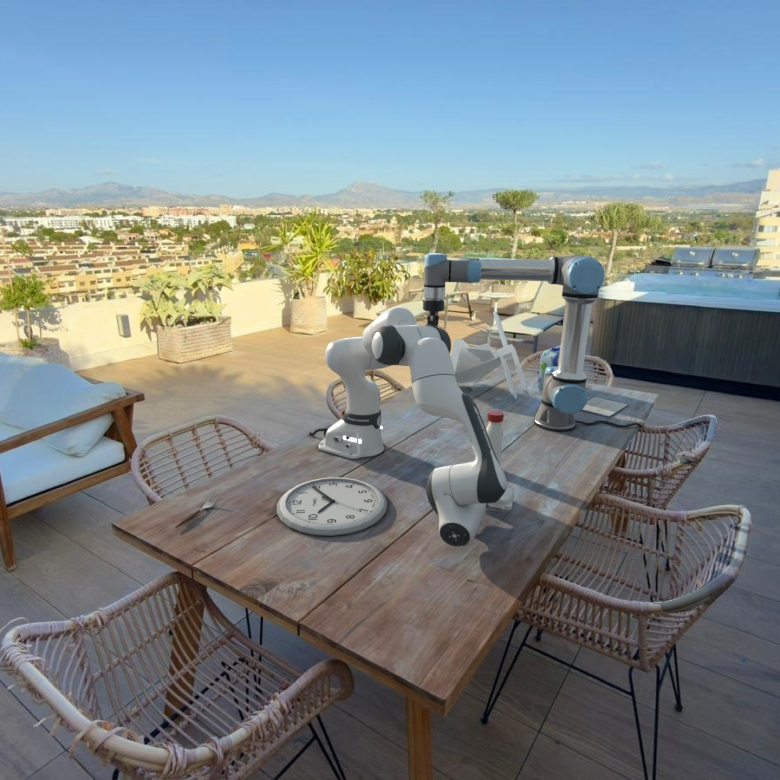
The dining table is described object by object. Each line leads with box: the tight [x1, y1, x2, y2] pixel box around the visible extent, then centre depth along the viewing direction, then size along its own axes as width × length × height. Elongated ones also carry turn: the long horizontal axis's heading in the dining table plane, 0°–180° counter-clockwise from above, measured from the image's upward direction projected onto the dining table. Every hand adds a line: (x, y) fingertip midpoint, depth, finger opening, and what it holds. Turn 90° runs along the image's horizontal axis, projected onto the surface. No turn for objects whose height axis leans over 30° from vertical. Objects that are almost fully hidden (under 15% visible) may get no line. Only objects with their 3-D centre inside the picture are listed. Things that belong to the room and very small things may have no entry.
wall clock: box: [276, 476, 388, 537], centre depth 142 cm, size 30×2×30 cm
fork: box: [174, 492, 220, 529], centre depth 137 cm, size 3×16×2 cm, turn 160°
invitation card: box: [581, 396, 629, 418], centre depth 226 cm, size 21×1×15 cm
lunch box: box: [537, 345, 560, 391], centre depth 246 cm, size 26×11×21 cm, turn 134°
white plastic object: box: [450, 310, 531, 400], centre depth 245 cm, size 37×45×31 cm
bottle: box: [485, 421, 504, 465], centre depth 162 cm, size 5×5×19 cm
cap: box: [487, 409, 504, 423], centre depth 160 cm, size 5×5×2 cm
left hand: (479, 479), depth 145 cm, fingers open, 8 cm apart
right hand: (431, 358), depth 189 cm, fingers open, 13 cm apart
